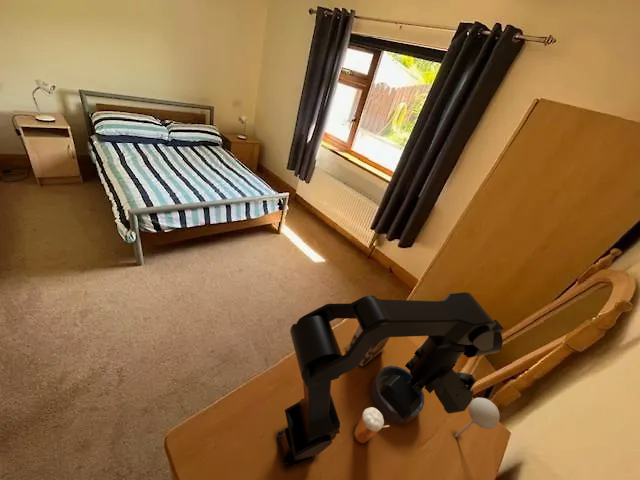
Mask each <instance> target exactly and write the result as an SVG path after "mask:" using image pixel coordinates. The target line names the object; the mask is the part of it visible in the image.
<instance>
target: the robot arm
mask: <svg viewBox="0 0 640 480" xmlns="http://www.w3.org/2000/svg"><path fill="white" fill-rule="evenodd" d="M336 319H342V320H343V319H346V320H347V319H349V320H350V319H351V320H355V319H356V320H357V322H358V326H359V325H360V327H361V329H362V331H363V332H361V334H360V335H359V337H358V338H357V339H356V341H355V342H354V344H353V345H352V346H351V348H350V349H349V351H346V353H345V354H342V352H341V348H340V346H339V343H338V340H337V338H336V335H335V333H334V330H333V327H332V324H331V322H332V321H334V320H336ZM502 331H504V327H503V326H502V325H501V323H500V322H499V321H498V320H497V319H493V318H492V317H491V315H490V314H489V313H488V312H487V311H486V310H485V309H484V308H483V306H482V305H481V304H480V302H479V301H477V299H476V298H475V297H474V295H472V294H471V293H470V292H467V291H462V292H452V293H448V294H447V295H446V297H444V298H443V300H415V299H414V300H412V299H411V300H410V299H382V298H380V299H379V298H377V296H375V295H372V294H370V295H365V296H361V297H360V298H358V299H357V300H355V301H352V302H350V303H349V302H348V303H326V304H324V305H322V306H319V307H318V308H316V309H314V310H312V311H311V312H308V313H307V314H304V315H303V316H301V317H299V319H298V320H297V321H296V323H292V325H291V327H290V330H289V333H290V337H291V341H292V345H293V349H294V352H295V356H296V360H297V365H298V368H299V372H300V376H301V379H302V383H303V384H302V386H303V398H300V399H299V401H298V402H296V403H294V404H292V405H291V406H289V407H287V408H285V409H284V414H285V418H286V424H287V427H285V428H284V430H281V431H278V432H277V434H276V435H277V440H278V444H279V448H280V453H281V457H282V462H283V466H284V468H286V469H289V468H292V467H293V466H297V465H299V464H302V463H305V462H308V461H311V460H313V459H315V458H316V456H318V455H320V454H321V453H322V452H324V451H325V450H326V449H327V448H328V447H330V446H331V445H332V444H333V441H334V440H335V439H336V437H337V434H340V433H341V431H340V428H341V422H340V418H339V415H338V413H337V409H336V407H335V403H334V400H333V396H332V393H331V390H332V381H334V380H338V379H339V378H340V377H341V376H344V375H345V374H347V373H348V372H351V371H353V370H355V369H356V368H358V367H359V366H360V362H361V361H362V359H363V358H364V356H365V355H366V354H367V352H368V351H369V349H370V348H371V346H372V345H374V344H376V343H378V342H380V341H382V340H384V339H385V338H387V337H390V338H406V337H407V338H408V337H409V338H410V337H427V338H426V339H425V341H424V342H423V343H422V344H421V345H420V346H419V347H418V348H417V349H416V350H415V352H414V353H413V355H414V356H413V357H412V358H411V359H410V360H408V362H406V364H405V365H404V367H405V368H406V369H407V370H408V371H409V373H410V374H411V376H412V377H413V378H412V379H411V380H410V381H409V382H408V383H406V381H405V380H404V379H403V378H402V377H401V376H399V375H393V376H392V377H391V378H390V379H389V380H388V381H387V382H386V383H384V384H383V386H382V387H381V389H380V394H381V395H382V397H383V398H384V399H385V400H386V401H387V402H388V408H389V409H390V410H391V411H392V412H394V411H396V412H397V413H398V414H399V415H400V417H401V418H402V419H408V418H409V417H410V415H411V414H412V413H413V412H414V411H415V410H416V409H417V407H418V406H419V405H420V404H421V399H420V396H419V395H418V393H419V392H420V391H421V390H423V389H425V390H426V391H427V393H428V394H431V393H433V391H434V395H435V396H436V397H437V399H438V401H439V402H440V403H441V405H442V406H443V409H444V411H445V412H446V413H447V414H448V415H449V414H455V413H461V412H465V411H466V410H467V408H469V406H470V403H471V401H472V400H473V395H474V393H475V392H474V390H472V388H473V387H474V386H475V384H476V382H477V380H476V379H475V377H474V375H473V374H471V373H466V372H460V371H459V372H458V371H456V370H454V367H455V366H456V365H457V364H456V363H458V360H459V359H460V358H461V357H462V356H463V355H464V356H465V357H466V358H469V359H470V358H475V357H480V356H486V355H493V354H496V353H499V352H501V350H502V348H503V341H504V340H503V335H502V333H501V332H502ZM415 385H416V387H415V388H414V389H412V388H413V387H414V386H415Z"/></svg>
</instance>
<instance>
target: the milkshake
mask: <svg viewBox="0 0 640 480" xmlns="http://www.w3.org/2000/svg"><path fill="white" fill-rule="evenodd" d="M384 424H385V420H384V416H383V415H382V414H381V413H380V412H379V411H378V410H377V408H376V407H375V406H373V407H372V406H370V407H367V408H365V409H364V410H363V412H362V415H361V417H360V419H359V421H358V423H357V424H356V426H355V429H354V433H353V435H354V438H355V440H356V441H357V442H358V443H361V444H365V443H366V442H368V441H369V440H370V439H372V437H373V436H374V435H376V434H377V433H378V432H379V431H380V430H382V429H384V428H389V427H390V426H391V425H390V424H386V425H384Z"/></svg>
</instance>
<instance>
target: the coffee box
mask: <svg viewBox="0 0 640 480" xmlns="http://www.w3.org/2000/svg"><path fill="white" fill-rule="evenodd" d="M361 332H363V331H362V329H361V327H360V325H359V324H358V327H356V330H355V332H354V334H353V336H352V338H351V340H350V342H349V344H348V346H347V348H346V352H348V351H349V349H350V348H351V346H352V345H353V344H354V342H355V341H356V339H357V338H358V337H359V335H360V334H361ZM390 339H391V337H387V338H385V339H384V340H382V341H380V342H378V343H376V344H374V345H372V346H371V348H370V349H369V351H368V352H367V354H366V355H365V356H364V358H363V359H362V361H361V362H360V364H359V366H360V367H363V366H365V365H366V364H368V363H369V362H370V361H371V360H373V359H374V358H375V357H376V356H378V355H379V354H380V353H381V352H382V351H383V350H384V348H385V347H386V345H387V343H388V342H389V340H390Z"/></svg>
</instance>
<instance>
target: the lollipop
mask: <svg viewBox="0 0 640 480" xmlns="http://www.w3.org/2000/svg"><path fill="white" fill-rule="evenodd" d="M468 414H469V417H470V419H471V421H470V422H469V423H468V424H467V425H465V426H464V427H463V428H462V429H461V430H460V431H458V432H457V433H456V434H455V435H454V436H455V437H456V438H458V437H459V436H460V435H461V434H463V433H464V432H465V431H467V429H469V428H470V427H471V426H472V425H474V424H475V425H476V426H478V427H479V428H481V429H484V430H485V429H486V430H492V429H495V428H496V427H498V425H499V423H500V420H501V419H500V418H501V417H500V416H501V415H500V411H499V409H498V407H497V406H496V404H495V403H494V402H492V400H490V399H489V398H486V397H475V398H474V399H473V398H472V401H471V402H470V404H469V405H468Z"/></svg>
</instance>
